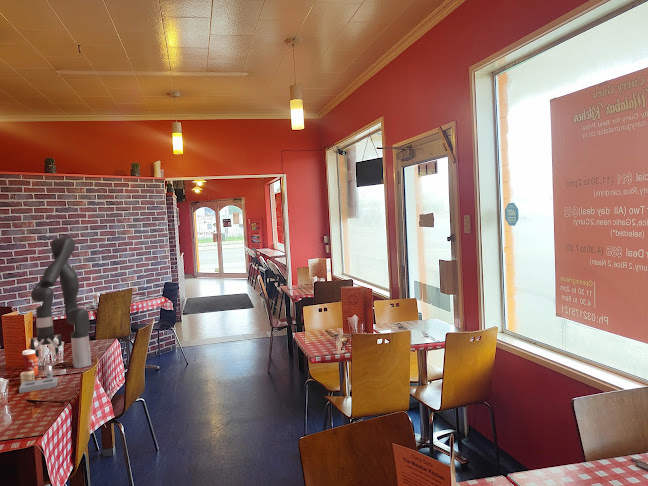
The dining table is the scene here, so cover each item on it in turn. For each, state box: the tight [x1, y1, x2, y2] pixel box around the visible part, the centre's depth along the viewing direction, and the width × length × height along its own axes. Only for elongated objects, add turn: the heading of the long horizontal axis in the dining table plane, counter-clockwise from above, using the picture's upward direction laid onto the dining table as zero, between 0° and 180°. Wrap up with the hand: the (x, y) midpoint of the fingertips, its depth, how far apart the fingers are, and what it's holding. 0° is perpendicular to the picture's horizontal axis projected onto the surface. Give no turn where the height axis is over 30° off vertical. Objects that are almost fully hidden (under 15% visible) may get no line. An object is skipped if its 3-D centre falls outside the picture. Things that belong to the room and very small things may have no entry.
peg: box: [44, 364, 54, 379], centre depth 259 cm, size 3×3×8 cm
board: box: [18, 376, 59, 394], centre depth 249 cm, size 16×10×2 cm, turn 115°
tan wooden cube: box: [20, 370, 36, 385], centre depth 255 cm, size 6×6×6 cm
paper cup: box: [21, 348, 39, 377], centre depth 271 cm, size 8×8×14 cm
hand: (47, 355), depth 259 cm, fingers open, 8 cm apart
